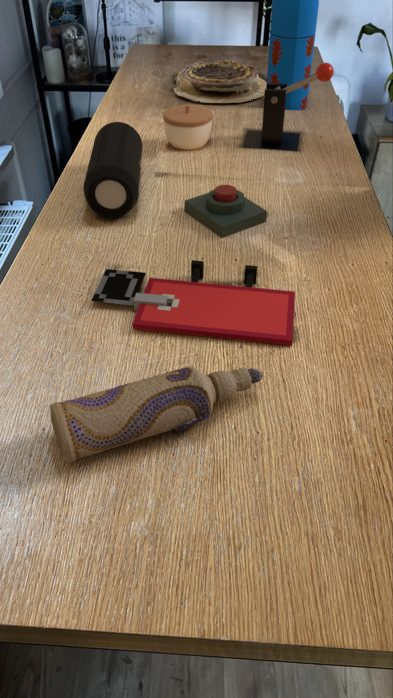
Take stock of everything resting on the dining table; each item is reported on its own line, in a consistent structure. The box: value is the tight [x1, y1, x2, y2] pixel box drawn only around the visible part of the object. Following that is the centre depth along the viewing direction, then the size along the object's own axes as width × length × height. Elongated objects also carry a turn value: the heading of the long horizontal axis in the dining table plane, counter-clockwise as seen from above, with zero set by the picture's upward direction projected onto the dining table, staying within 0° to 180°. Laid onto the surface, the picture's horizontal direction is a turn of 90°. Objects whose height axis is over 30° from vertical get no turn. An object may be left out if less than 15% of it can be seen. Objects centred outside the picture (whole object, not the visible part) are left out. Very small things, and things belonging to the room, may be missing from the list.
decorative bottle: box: [49, 365, 264, 463], centre depth 69 cm, size 26×8×7 cm, turn 112°
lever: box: [274, 62, 335, 94], centre depth 123 cm, size 14×4×4 cm, turn 80°
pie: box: [172, 59, 267, 104], centre depth 162 cm, size 28×27×5 cm
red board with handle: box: [90, 259, 296, 346], centre depth 88 cm, size 30×3×15 cm
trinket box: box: [162, 104, 213, 150], centre depth 129 cm, size 11×11×9 cm
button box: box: [183, 189, 268, 239], centre depth 108 cm, size 12×10×4 cm
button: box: [213, 184, 238, 203], centre depth 106 cm, size 4×4×2 cm
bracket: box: [242, 83, 301, 152], centre depth 129 cm, size 12×10×13 cm
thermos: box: [266, 0, 320, 112], centre depth 144 cm, size 11×11×25 cm
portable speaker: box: [82, 121, 144, 220], centre depth 113 cm, size 26×10×10 cm, turn 2°
